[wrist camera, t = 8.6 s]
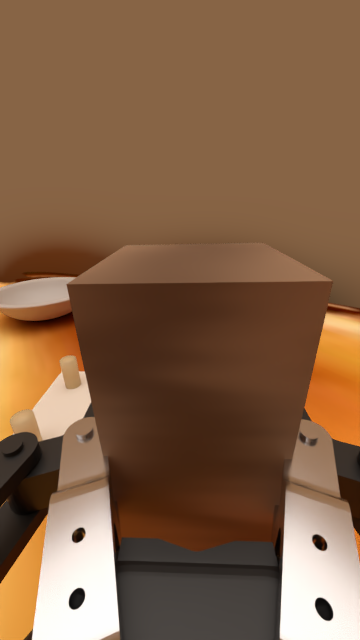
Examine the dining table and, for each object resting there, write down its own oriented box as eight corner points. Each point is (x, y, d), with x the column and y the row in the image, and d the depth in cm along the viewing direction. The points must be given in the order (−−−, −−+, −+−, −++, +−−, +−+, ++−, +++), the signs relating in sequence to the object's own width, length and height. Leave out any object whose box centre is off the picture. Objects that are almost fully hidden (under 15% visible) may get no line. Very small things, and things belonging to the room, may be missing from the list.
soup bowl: (116, 309, 68) (113, 285, 65) (21, 347, 50) (11, 316, 47) (65, 293, 81) (60, 273, 78) (-25, 319, 63) (-35, 293, 60)
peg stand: (170, 386, 38) (168, 348, 36) (158, 497, 24) (154, 446, 21) (65, 385, 39) (56, 347, 36) (-10, 492, 24) (-34, 443, 22)
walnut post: (236, 490, 15) (263, 242, 9) (256, 614, 11) (332, 281, 5) (151, 488, 15) (125, 245, 10) (135, 609, 11) (66, 284, 5)
